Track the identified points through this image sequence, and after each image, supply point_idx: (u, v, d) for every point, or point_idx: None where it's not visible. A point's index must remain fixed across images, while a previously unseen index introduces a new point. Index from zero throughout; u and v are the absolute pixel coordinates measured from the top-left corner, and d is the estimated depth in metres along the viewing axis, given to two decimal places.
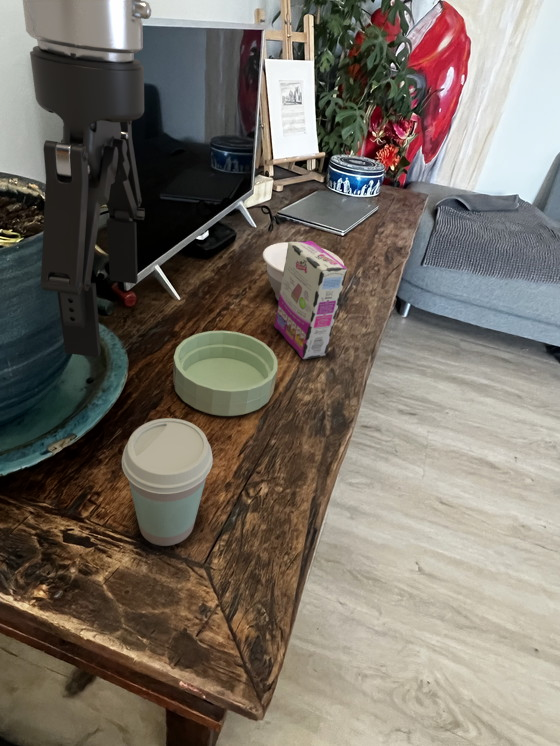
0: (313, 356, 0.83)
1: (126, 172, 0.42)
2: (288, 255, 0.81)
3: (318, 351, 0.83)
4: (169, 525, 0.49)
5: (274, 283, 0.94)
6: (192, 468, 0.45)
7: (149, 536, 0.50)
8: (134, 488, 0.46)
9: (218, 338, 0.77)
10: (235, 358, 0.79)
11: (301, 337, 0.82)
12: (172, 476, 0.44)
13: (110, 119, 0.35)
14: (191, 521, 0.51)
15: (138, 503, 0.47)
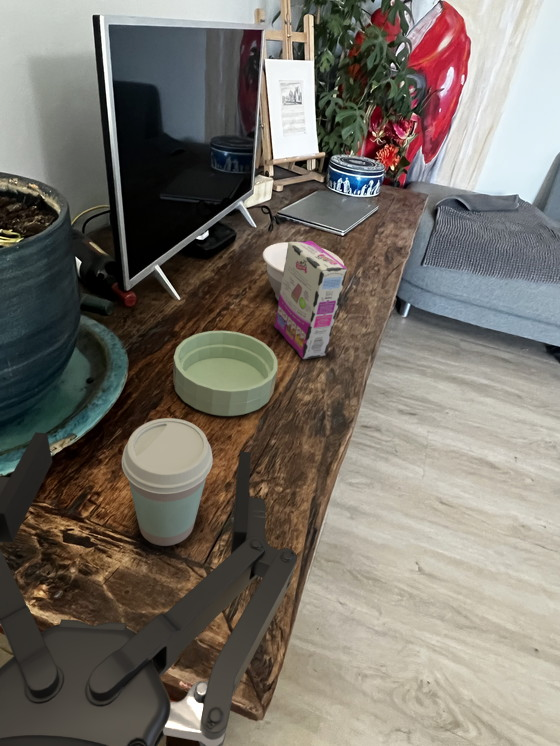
0: (313, 356, 0.83)
1: None
2: (288, 255, 0.81)
3: (318, 351, 0.83)
4: (169, 525, 0.49)
5: (274, 283, 0.94)
6: (192, 468, 0.45)
7: (149, 535, 0.50)
8: (134, 488, 0.46)
9: (218, 338, 0.77)
10: (235, 358, 0.79)
11: (301, 337, 0.82)
12: (172, 476, 0.44)
13: None
14: (191, 521, 0.51)
15: (138, 503, 0.47)
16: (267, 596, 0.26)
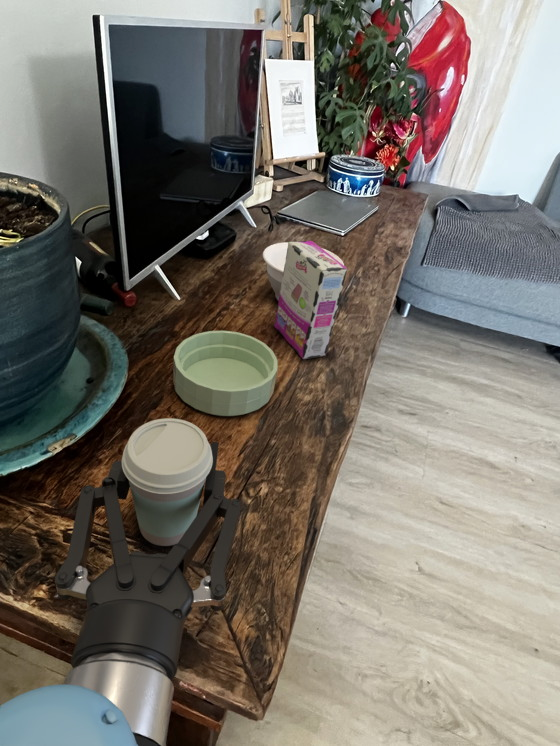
0: (313, 356, 0.83)
1: None
2: (288, 255, 0.81)
3: (318, 351, 0.83)
4: (169, 525, 0.49)
5: (274, 283, 0.94)
6: (192, 468, 0.45)
7: (149, 536, 0.50)
8: (134, 488, 0.46)
9: (218, 338, 0.77)
10: (235, 358, 0.79)
11: (301, 337, 0.82)
12: (172, 476, 0.44)
13: None
14: (191, 521, 0.51)
15: (138, 503, 0.47)
16: (229, 526, 0.45)
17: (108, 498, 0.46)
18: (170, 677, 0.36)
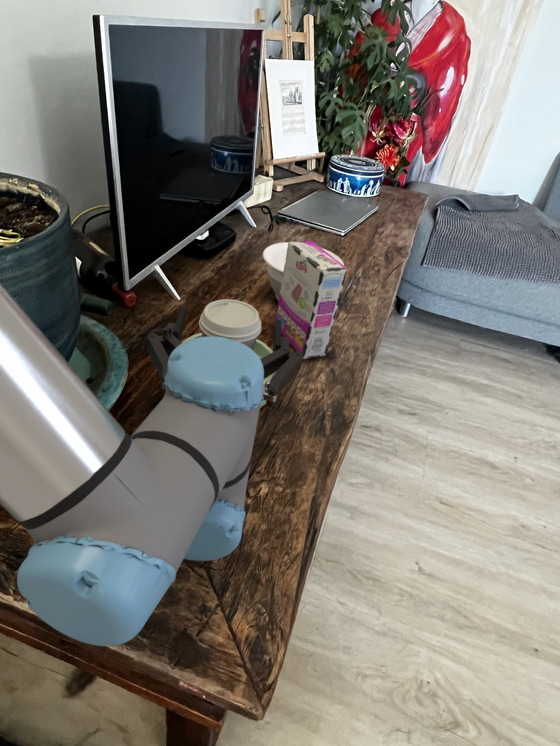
0: (313, 356, 0.83)
1: None
2: (288, 255, 0.81)
3: (318, 351, 0.83)
4: None
5: (274, 283, 0.94)
6: (250, 325, 0.65)
7: None
8: None
9: None
10: None
11: (301, 337, 0.82)
12: (237, 329, 0.64)
13: None
14: None
15: None
16: (291, 363, 0.63)
17: (171, 340, 0.63)
18: None
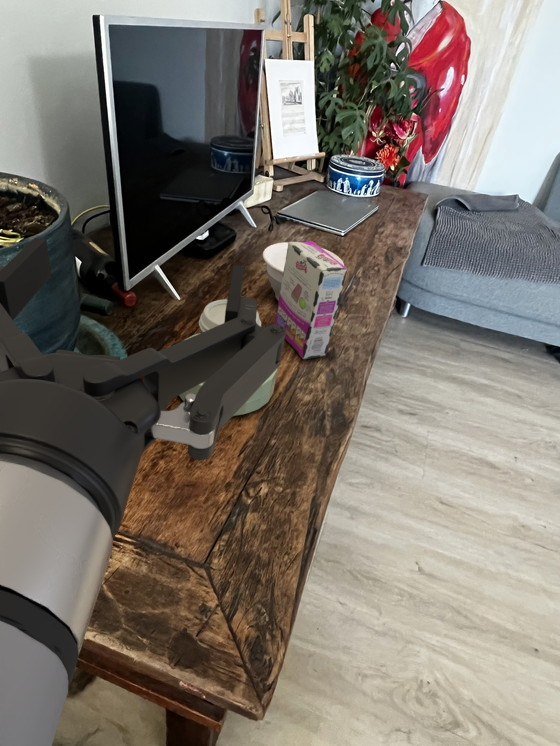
0: (313, 356, 0.83)
1: None
2: (288, 255, 0.81)
3: (318, 351, 0.83)
4: None
5: (274, 283, 0.94)
6: None
7: None
8: None
9: None
10: None
11: (301, 337, 0.82)
12: None
13: None
14: None
15: None
16: (256, 350, 0.27)
17: None
18: (109, 525, 0.19)
